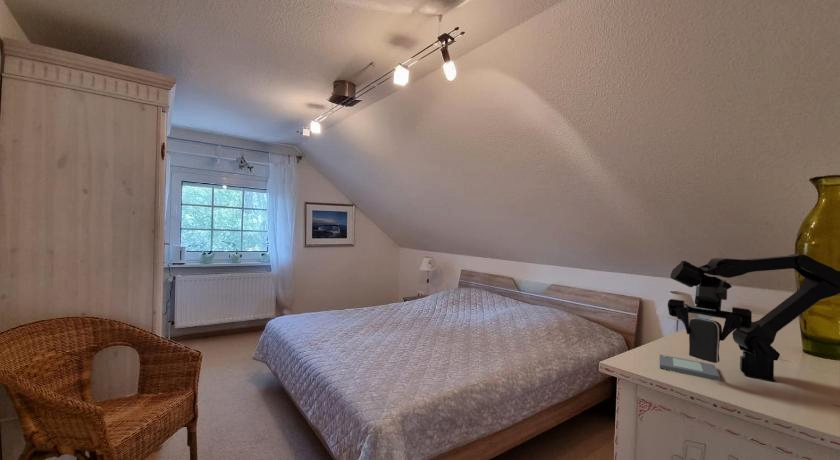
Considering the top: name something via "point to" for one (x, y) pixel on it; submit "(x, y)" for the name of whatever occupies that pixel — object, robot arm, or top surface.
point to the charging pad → (689, 367)
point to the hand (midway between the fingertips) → (704, 336)
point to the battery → (704, 339)
